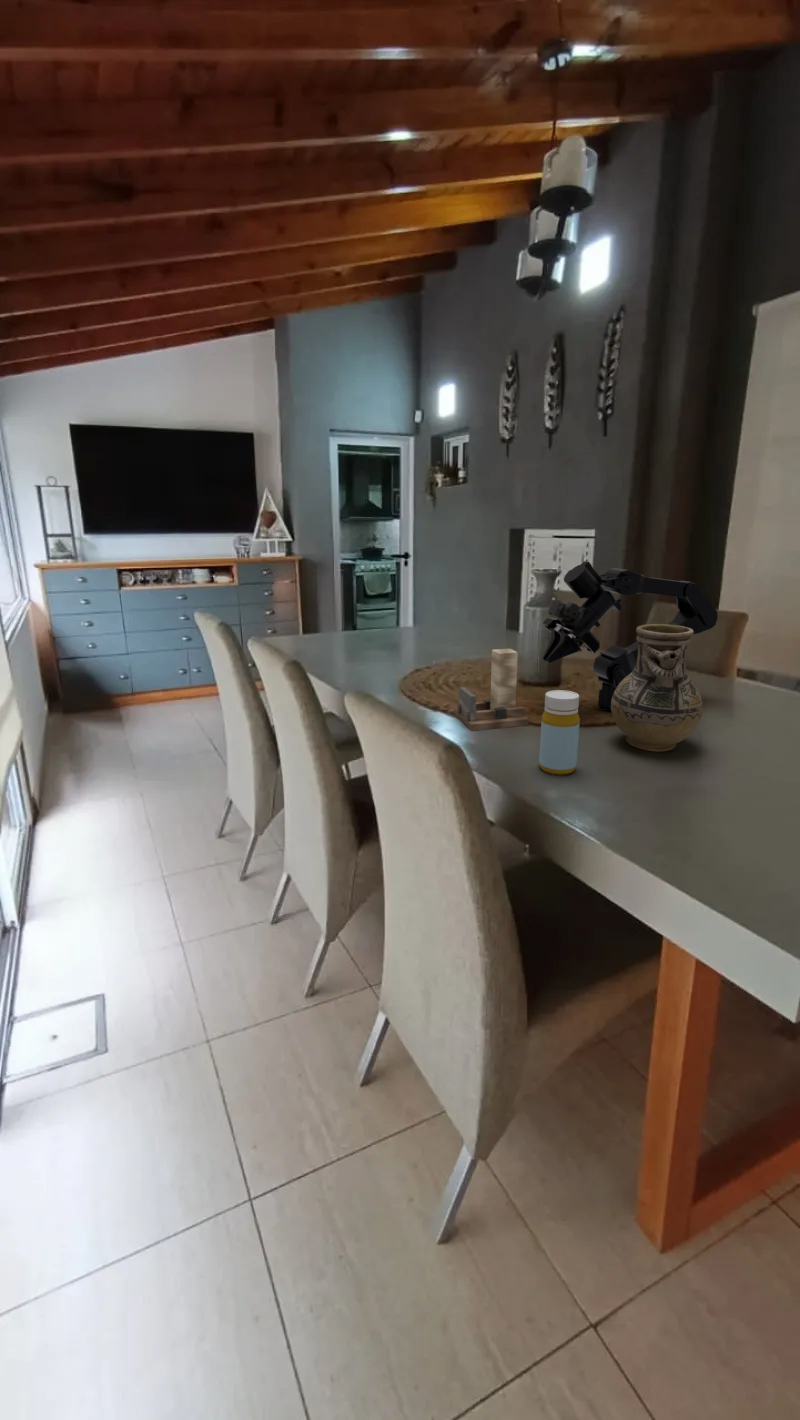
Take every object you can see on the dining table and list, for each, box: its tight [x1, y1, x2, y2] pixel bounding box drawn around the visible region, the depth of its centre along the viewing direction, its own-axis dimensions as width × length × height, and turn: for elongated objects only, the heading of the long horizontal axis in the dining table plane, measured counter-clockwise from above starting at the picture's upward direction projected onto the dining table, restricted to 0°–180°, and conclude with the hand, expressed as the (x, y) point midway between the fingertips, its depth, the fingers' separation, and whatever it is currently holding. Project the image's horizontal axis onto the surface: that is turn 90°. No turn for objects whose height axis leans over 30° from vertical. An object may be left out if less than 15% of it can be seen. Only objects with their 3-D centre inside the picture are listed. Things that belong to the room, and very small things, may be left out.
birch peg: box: [489, 648, 519, 710], centre depth 152 cm, size 4×4×15 cm
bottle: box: [538, 689, 581, 776], centre depth 123 cm, size 7×7×15 cm
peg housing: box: [453, 686, 529, 732], centre depth 152 cm, size 14×12×8 cm
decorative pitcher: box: [610, 623, 704, 753], centre depth 133 cm, size 22×18×25 cm
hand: (545, 660), depth 153 cm, fingers closed
